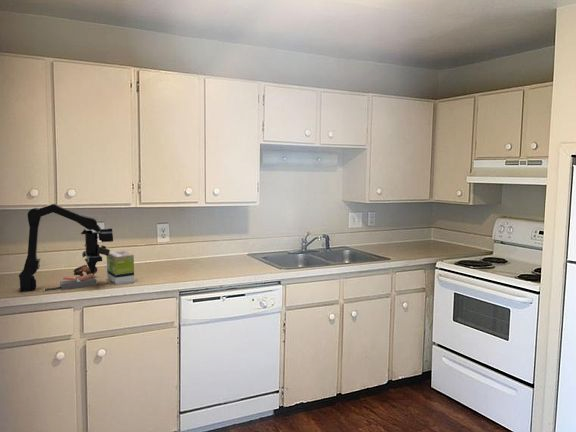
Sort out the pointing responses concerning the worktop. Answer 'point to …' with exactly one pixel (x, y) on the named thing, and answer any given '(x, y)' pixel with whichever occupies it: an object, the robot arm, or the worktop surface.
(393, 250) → the worktop surface
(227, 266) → the worktop surface
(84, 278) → the rocker right
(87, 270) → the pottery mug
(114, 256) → the tea box
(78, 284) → the power strip
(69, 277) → the rocker left
